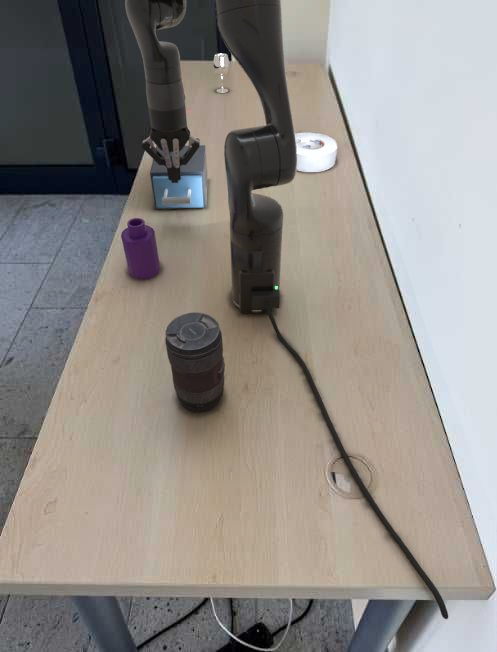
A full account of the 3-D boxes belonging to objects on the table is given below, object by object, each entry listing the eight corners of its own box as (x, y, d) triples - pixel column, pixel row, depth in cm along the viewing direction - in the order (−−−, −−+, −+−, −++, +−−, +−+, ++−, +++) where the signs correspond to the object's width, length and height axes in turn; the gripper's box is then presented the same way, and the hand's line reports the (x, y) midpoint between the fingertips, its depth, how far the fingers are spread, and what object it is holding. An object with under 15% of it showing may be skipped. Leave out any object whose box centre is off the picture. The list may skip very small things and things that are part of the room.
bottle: (158, 278, 100) (150, 231, 92) (127, 279, 100) (116, 232, 92) (161, 260, 105) (154, 213, 97) (131, 260, 105) (121, 213, 97)
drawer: (202, 220, 115) (200, 190, 109) (154, 221, 114) (149, 191, 109) (204, 180, 129) (203, 152, 123) (161, 181, 128) (158, 153, 123)
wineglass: (212, 89, 182) (210, 54, 174) (226, 87, 184) (225, 52, 176) (218, 94, 178) (216, 58, 170) (232, 92, 180) (231, 56, 172)
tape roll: (339, 152, 143) (342, 135, 139) (329, 176, 132) (332, 158, 129) (289, 146, 146) (290, 129, 143) (275, 168, 136) (276, 150, 132)
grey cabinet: (206, 207, 121) (203, 171, 114) (155, 208, 120) (149, 172, 114) (207, 179, 131) (205, 145, 124) (160, 180, 131) (156, 145, 124)
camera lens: (202, 369, 82) (195, 302, 72) (235, 395, 78) (233, 329, 68) (164, 396, 78) (151, 330, 68) (198, 425, 74) (190, 360, 64)
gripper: (130, 109, 95) (144, 190, 107) (198, 108, 96) (203, 189, 108) (136, 95, 101) (148, 174, 113) (199, 95, 101) (205, 173, 113)
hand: (175, 181), depth 110 cm, fingers closed
